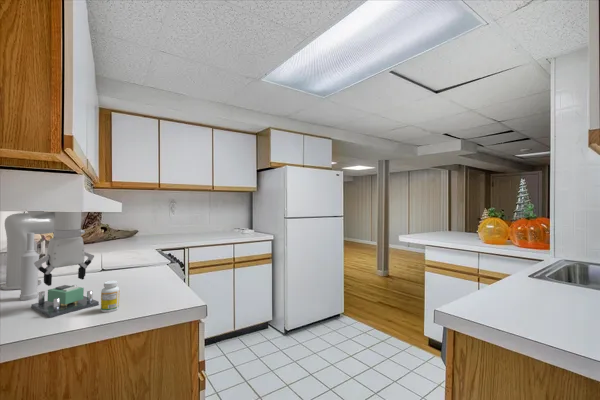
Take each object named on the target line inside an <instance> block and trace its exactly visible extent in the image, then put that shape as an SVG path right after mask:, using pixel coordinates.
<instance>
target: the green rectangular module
mask: <svg viewBox="0 0 600 400" xmlns="http://www.w3.org/2000/svg"><path fill="white" fill-rule="evenodd" d="M84 289H85V288H84V287H80V286H72V285H66V284H64V285H61V286H56V287H54V288H50V289H47V301H49V302H54V299H55V298H60V304H68V303H72V302H75V301H78V300H82V299H83V296H84V295H85V294H84V291H85V290H84Z"/></svg>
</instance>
